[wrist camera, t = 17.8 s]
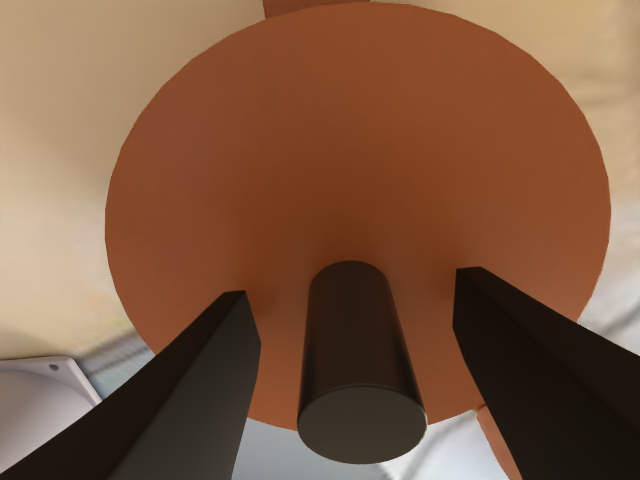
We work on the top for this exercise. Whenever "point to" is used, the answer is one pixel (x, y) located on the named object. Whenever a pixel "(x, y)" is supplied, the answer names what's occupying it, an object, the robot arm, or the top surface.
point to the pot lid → (355, 209)
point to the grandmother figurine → (497, 442)
